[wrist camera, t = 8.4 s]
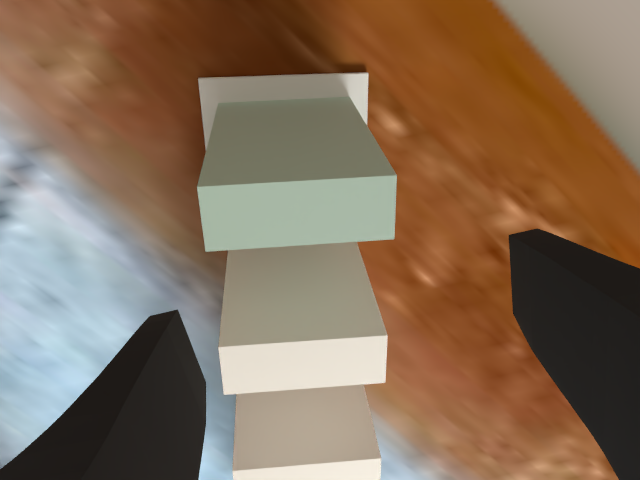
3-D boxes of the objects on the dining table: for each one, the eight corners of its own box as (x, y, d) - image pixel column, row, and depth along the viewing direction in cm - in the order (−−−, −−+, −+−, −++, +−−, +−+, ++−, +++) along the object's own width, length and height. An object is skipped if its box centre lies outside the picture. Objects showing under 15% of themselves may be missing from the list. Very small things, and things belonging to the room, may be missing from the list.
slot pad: (208, 169, 20) (208, 171, 20) (198, 77, 19) (198, 79, 19) (365, 162, 21) (366, 164, 21) (367, 72, 19) (368, 73, 19)
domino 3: (347, 346, 25) (379, 495, 18) (243, 353, 24) (236, 507, 18) (347, 315, 24) (381, 458, 17) (239, 322, 23) (232, 471, 17)
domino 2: (347, 253, 23) (385, 382, 16) (234, 259, 22) (223, 394, 16) (348, 216, 22) (387, 335, 15) (230, 222, 21) (218, 346, 15)
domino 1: (349, 142, 20) (394, 239, 14) (223, 149, 20) (205, 251, 13) (349, 96, 19) (396, 175, 13) (218, 103, 19) (197, 187, 13)
